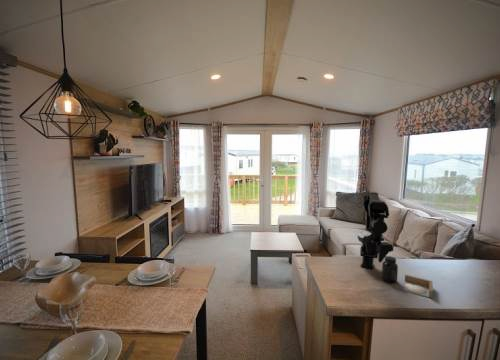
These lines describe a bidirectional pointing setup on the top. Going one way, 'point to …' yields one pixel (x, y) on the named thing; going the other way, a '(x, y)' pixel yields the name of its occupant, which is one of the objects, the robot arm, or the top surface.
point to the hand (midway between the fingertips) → (374, 257)
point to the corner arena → (418, 286)
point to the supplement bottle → (389, 270)
